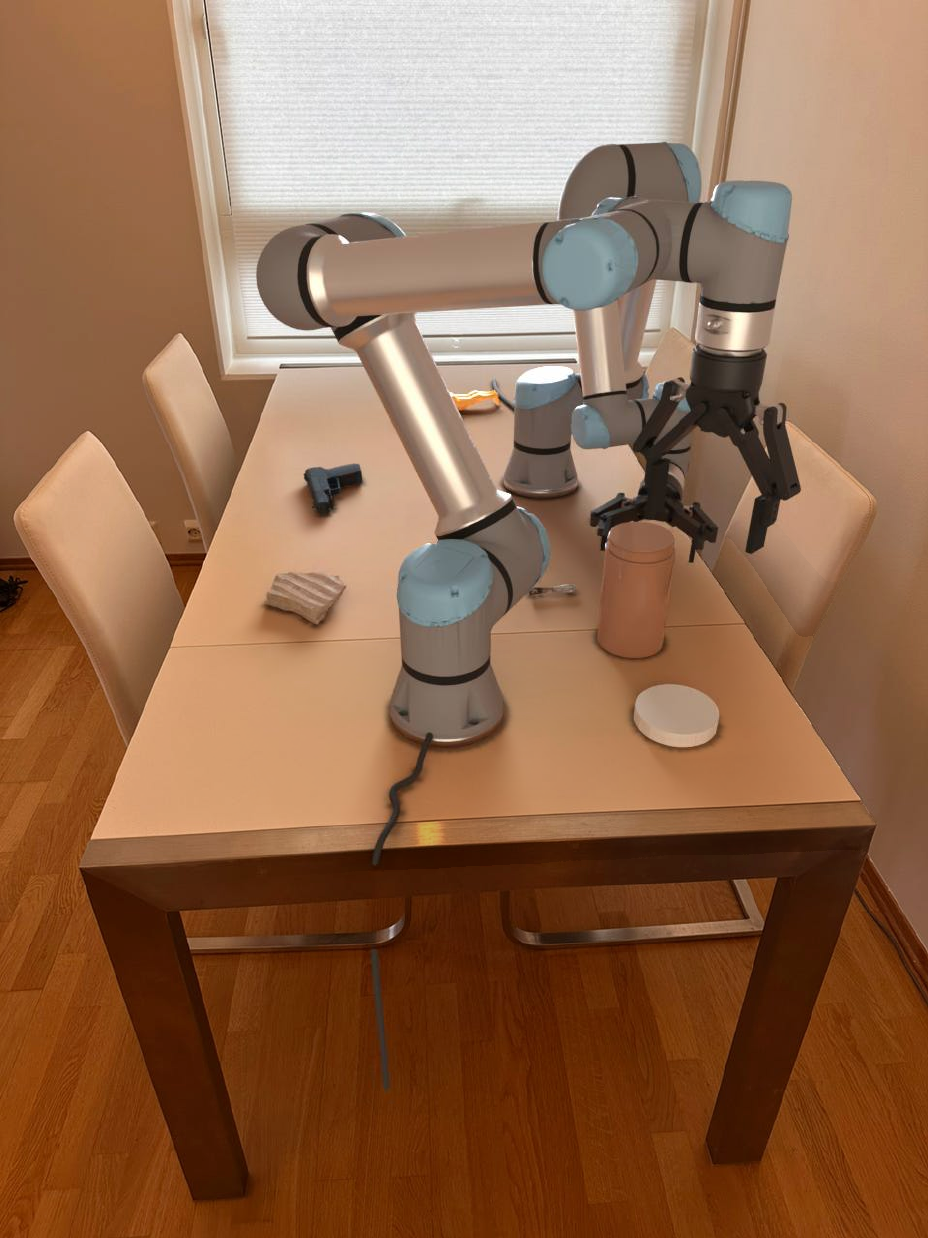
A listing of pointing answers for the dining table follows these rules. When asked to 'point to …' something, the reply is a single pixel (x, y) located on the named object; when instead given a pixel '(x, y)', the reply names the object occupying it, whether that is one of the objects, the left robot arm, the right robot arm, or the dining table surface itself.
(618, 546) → the jar
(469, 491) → the left robot arm
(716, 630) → the dining table surface
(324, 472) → the handgun
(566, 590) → the putty knife
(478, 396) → the human figure
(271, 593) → the stone
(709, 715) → the lid
